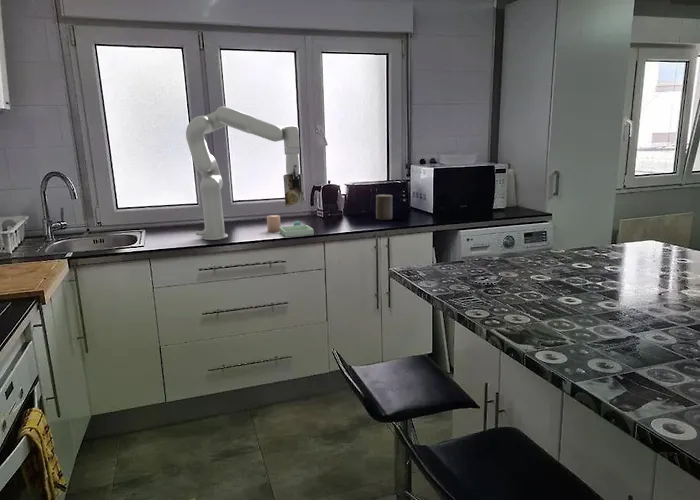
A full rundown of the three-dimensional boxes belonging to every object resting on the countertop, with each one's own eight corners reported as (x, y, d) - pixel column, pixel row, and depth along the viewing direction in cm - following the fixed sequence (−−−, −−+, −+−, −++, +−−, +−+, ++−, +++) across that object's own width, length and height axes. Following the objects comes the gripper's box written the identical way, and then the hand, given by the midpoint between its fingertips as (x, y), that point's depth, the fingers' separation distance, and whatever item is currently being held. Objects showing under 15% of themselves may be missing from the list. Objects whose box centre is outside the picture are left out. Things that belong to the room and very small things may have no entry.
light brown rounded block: (268, 232, 269) (267, 217, 267) (266, 230, 275) (265, 215, 274) (282, 231, 271) (281, 216, 269) (279, 229, 278) (278, 214, 276)
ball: (294, 229, 276) (294, 222, 275) (293, 228, 279) (292, 220, 278) (302, 228, 277) (301, 221, 276) (300, 227, 281) (299, 220, 280)
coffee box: (305, 205, 262) (303, 173, 259) (302, 206, 256) (301, 174, 253) (287, 205, 263) (285, 173, 260) (284, 207, 257) (283, 174, 253)
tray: (285, 237, 254) (285, 231, 253) (279, 232, 268) (279, 227, 267) (313, 235, 258) (313, 229, 258) (306, 230, 272) (306, 224, 271)
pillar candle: (378, 220, 295) (378, 194, 292) (374, 217, 304) (373, 192, 301) (394, 219, 298) (394, 193, 294) (389, 216, 307) (389, 191, 303)
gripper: (281, 151, 260) (283, 185, 264) (288, 152, 244) (290, 188, 248) (295, 150, 263) (297, 184, 267) (303, 151, 247) (305, 187, 251)
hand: (294, 186), depth 257 cm, fingers closed on coffee box, 8 cm apart
